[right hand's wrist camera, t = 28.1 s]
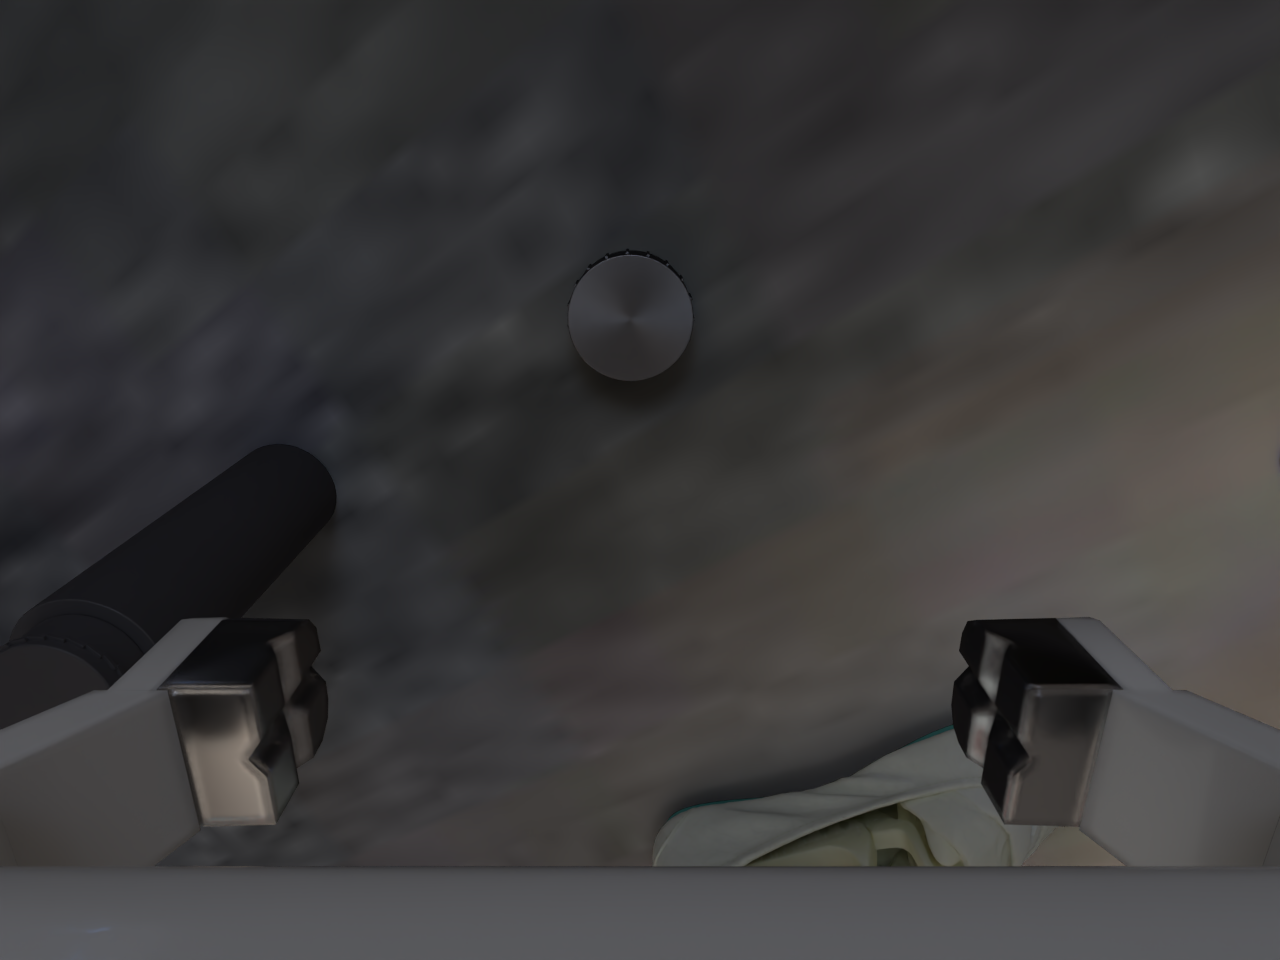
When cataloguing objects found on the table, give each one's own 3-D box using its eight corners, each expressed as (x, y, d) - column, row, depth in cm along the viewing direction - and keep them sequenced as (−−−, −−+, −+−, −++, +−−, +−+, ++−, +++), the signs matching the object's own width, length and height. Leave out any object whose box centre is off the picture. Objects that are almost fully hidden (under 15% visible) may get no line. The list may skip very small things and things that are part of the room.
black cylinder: (356, 488, 39) (165, 698, 24) (299, 554, 41) (81, 796, 25) (272, 423, 38) (13, 598, 22) (216, 493, 39) (-67, 706, 24)
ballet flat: (1091, 798, 46) (1178, 919, 38) (676, 901, 48) (683, 1032, 41) (1070, 678, 43) (1160, 782, 35) (631, 794, 46) (629, 914, 38)
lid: (564, 251, 35) (560, 256, 34) (690, 245, 35) (693, 249, 33) (574, 374, 37) (571, 385, 36) (694, 368, 37) (696, 379, 35)
